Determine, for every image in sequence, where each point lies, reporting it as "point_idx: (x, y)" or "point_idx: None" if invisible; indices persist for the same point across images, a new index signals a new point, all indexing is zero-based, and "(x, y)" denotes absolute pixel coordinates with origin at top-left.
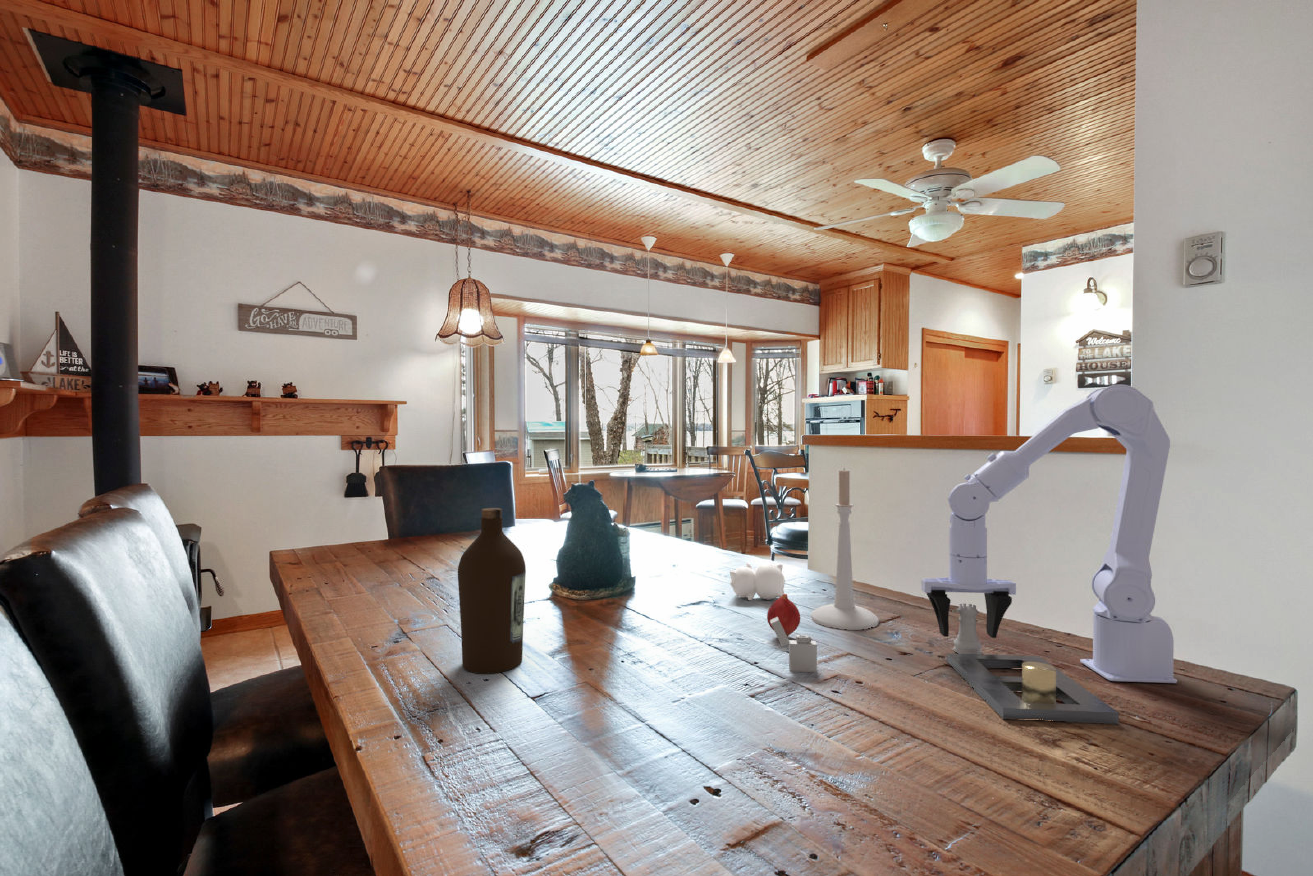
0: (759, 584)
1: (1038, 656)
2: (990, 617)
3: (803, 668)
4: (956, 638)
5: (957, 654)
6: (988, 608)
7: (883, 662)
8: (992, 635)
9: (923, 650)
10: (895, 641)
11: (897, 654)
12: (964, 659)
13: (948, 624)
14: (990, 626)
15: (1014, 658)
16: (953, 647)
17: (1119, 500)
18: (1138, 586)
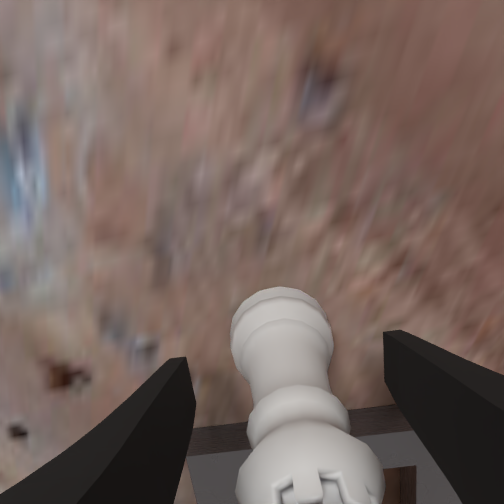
0: None
1: None
2: (449, 425)
3: None
4: (242, 342)
5: (217, 459)
6: (497, 446)
7: (5, 461)
8: (390, 392)
9: (128, 335)
10: (27, 258)
11: (42, 391)
12: (230, 495)
13: (181, 471)
14: (412, 395)
15: (397, 458)
16: (232, 321)
17: None
18: None
